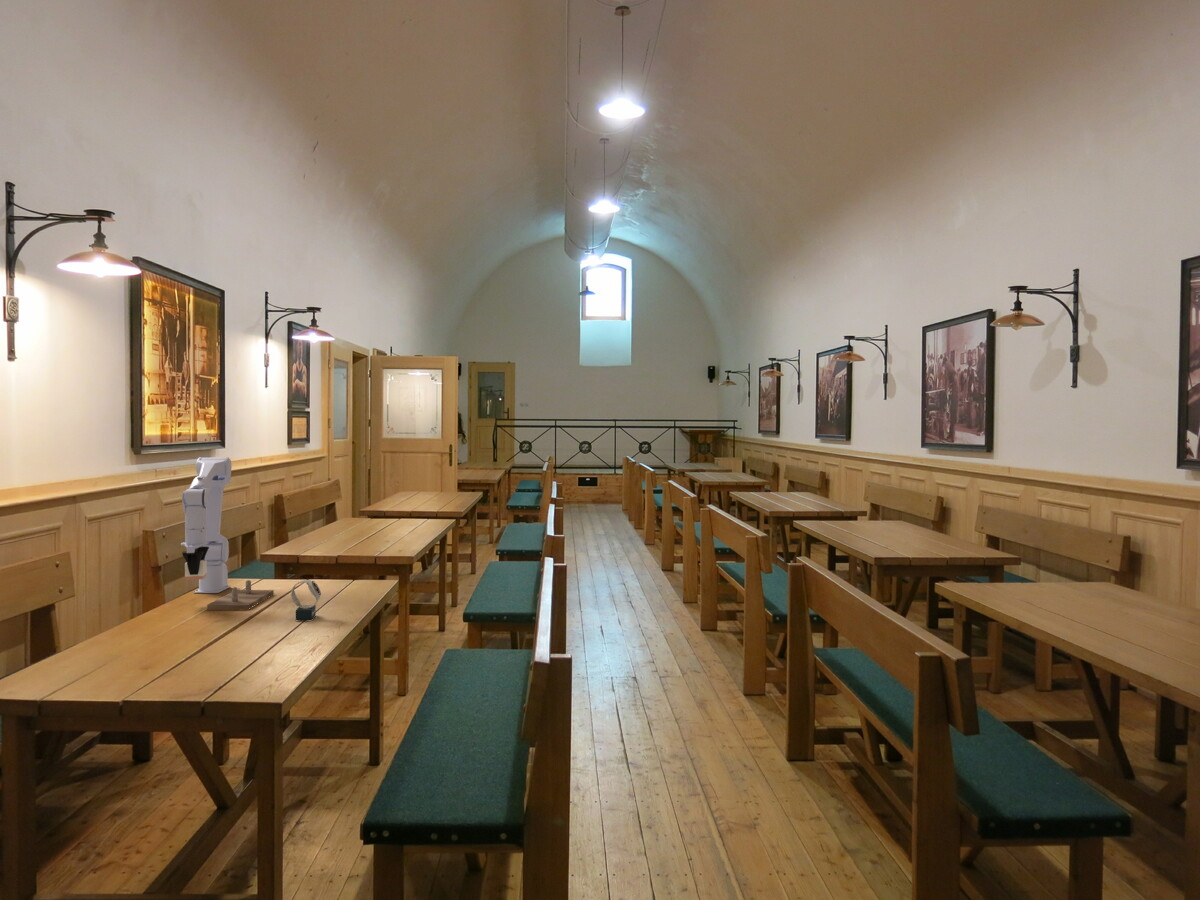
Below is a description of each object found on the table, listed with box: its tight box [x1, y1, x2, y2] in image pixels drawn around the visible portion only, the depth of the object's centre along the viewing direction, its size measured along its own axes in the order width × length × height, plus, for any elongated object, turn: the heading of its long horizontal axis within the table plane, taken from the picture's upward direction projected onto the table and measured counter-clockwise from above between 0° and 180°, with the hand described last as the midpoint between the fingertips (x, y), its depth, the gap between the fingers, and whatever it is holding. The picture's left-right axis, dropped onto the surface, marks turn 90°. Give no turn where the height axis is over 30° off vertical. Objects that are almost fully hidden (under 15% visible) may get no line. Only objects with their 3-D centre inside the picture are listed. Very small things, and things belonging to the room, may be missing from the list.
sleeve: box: [184, 560, 207, 581], centre depth 235 cm, size 5×5×5 cm
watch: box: [290, 579, 322, 622], centre depth 222 cm, size 6×8×11 cm
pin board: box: [206, 579, 274, 611], centre depth 240 cm, size 20×12×6 cm, turn 3°
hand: (196, 572), depth 235 cm, fingers closed on sleeve, 5 cm apart
